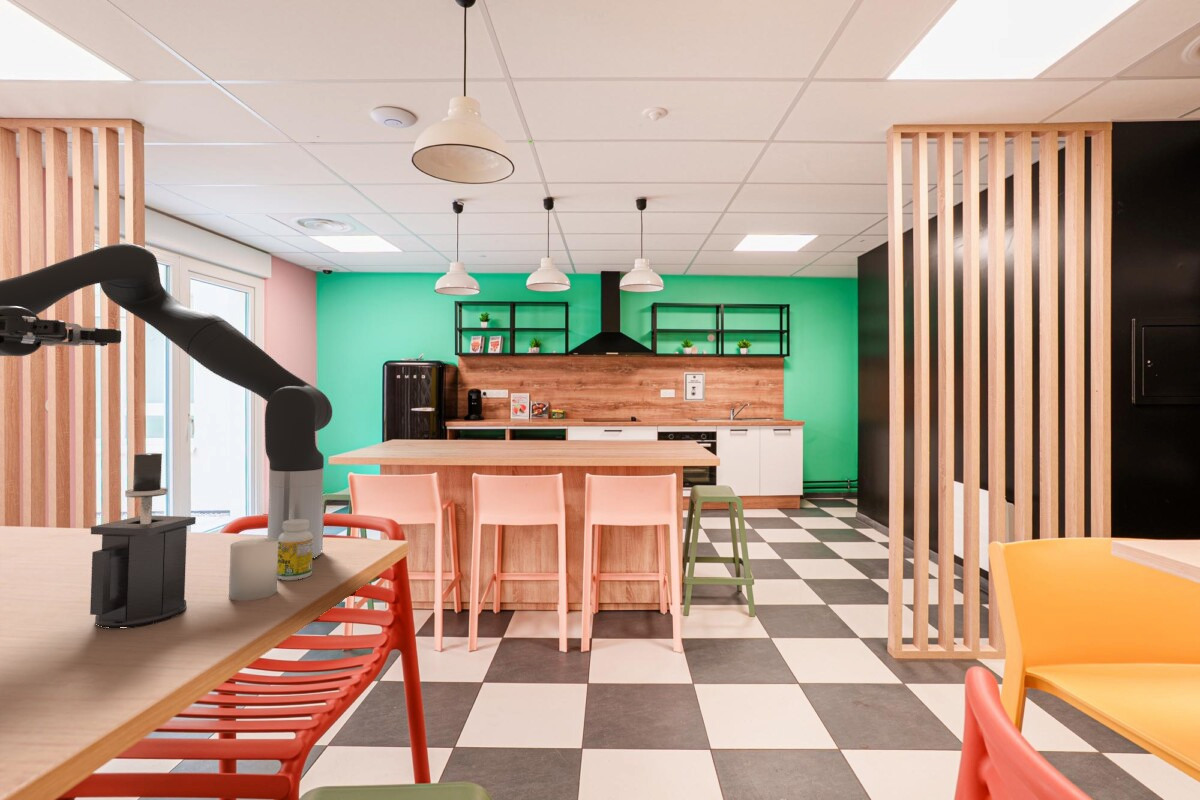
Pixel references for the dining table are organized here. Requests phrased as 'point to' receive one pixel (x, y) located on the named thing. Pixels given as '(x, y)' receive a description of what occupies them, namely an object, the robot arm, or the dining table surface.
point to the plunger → (147, 482)
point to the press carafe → (139, 571)
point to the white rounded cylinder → (253, 569)
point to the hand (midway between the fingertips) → (92, 332)
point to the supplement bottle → (295, 550)
